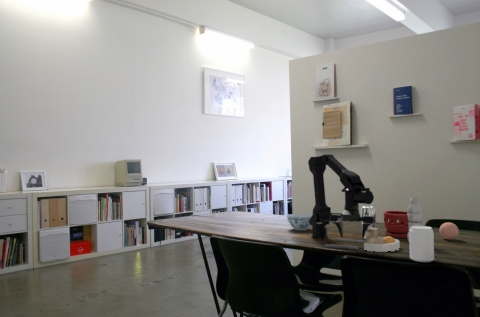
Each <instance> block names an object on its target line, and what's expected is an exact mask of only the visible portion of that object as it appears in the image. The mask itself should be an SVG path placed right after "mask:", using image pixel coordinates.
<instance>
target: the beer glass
mask: <svg viewBox="0 0 480 317" xmlns="http://www.w3.org/2000/svg"><path fill="white" fill-rule="evenodd" d="M365 215H371V216H374V217H375V222H374V223H372V224H371V225H369V226H368V228H367V230H368V229H370V228H376V221H377V219H376V217H377V215H376V207H375V206H371V205H370V206H360V217H364V216H365ZM360 222H361V227H362V230H363V223H364V221H360ZM363 240H366V234H365V237H364V239H363Z"/></svg>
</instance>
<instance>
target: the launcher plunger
mask: <svg viewBox="0 0 480 317" xmlns="http://www.w3.org/2000/svg"><path fill="white" fill-rule="evenodd" d="M365 234H366V239H365V241H366V243H373V244H378V237H379V228H378V227H375V228H370V229H368V230H367V231H366V232H365Z"/></svg>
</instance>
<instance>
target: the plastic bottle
mask: <svg viewBox="0 0 480 317" xmlns="http://www.w3.org/2000/svg"><path fill="white" fill-rule="evenodd" d="M406 212H407V215H408V222H409V223H408V224H409V226H408V235H407V237H406V238H407V241H408V242H409V230H410V228H411V226H422V218H423V217H422V216H423V209H422V207H421V205H420V201H419V198H418V197H414V198H413V197H410V198H409V205H408V207H407V209H406Z"/></svg>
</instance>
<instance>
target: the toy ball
mask: <svg viewBox="0 0 480 317" xmlns="http://www.w3.org/2000/svg"><path fill="white" fill-rule="evenodd" d="M439 234H440V236H441V237H442V238H444V239H446V240H448V241H449V240H450V241H451V240H452V241H453V240H454V239H456V238H457V237H458V235H460V230H459V228H458V226H457V225H456V224H454V223H453V222H444V223H442V224H441V225H440V227H439Z"/></svg>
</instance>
